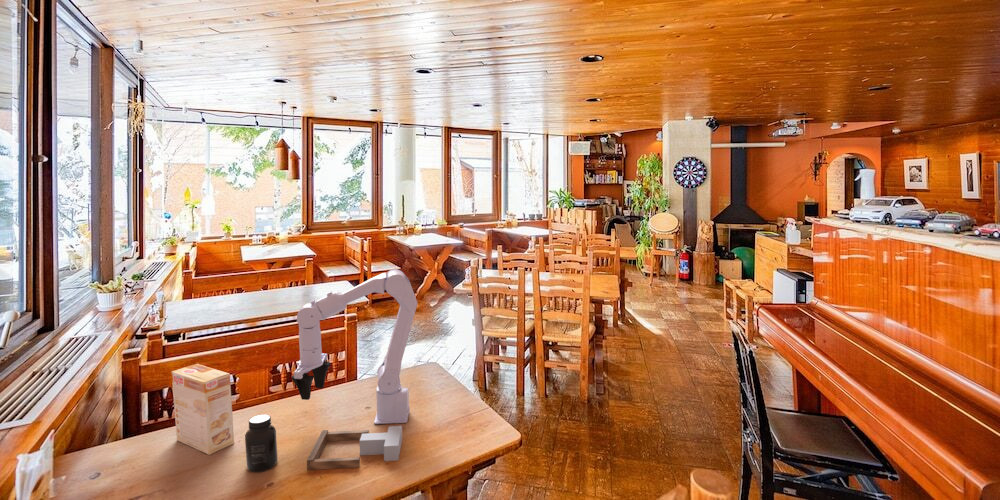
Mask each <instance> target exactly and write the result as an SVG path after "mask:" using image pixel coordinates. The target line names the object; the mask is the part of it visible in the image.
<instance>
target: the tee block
mask: <svg viewBox="0 0 1000 500" xmlns="http://www.w3.org/2000/svg"><path fill="white" fill-rule="evenodd" d="M402 443H403V426H402V425H393V426H392V425H391V426H388V428H387V432H369V433H365V434H362V435H361V438H360V440H359V456H372V455H375V456H376V455H383V461H384V462H391V461H393V462H394V461H396V462H397V461H399V460H400V454H401V449H402Z"/></svg>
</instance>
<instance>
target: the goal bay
mask: <svg viewBox="0 0 1000 500" xmlns="http://www.w3.org/2000/svg"><path fill="white" fill-rule="evenodd" d="M365 433H370V431H369V429H368V430H367V429H364V430H362V429H361V430H359V429H358V430H339V431H337V430H336V431H329V429H324V430H322V431H321V432H320V434H319V436H318V438H317V440H316V442H315V443H314V445H313V447H312V449H311V451H310V453H309V455H308V457H307V459H306V470H307V471H313V470H314V471H315V470H330V469H331V470H332V469H349V468H350V469H352V468H354V469H355V468H359V467H360V465H361V459H360V458H361V457H360V456H353V457H351V456H350V457H334V458H333V457H330V458H329V457H327V458H320V457H321V455H322V453H323V451H324V449H325V446H326V445H327V443H328V442H333V441H358V440H359V441H360V438H361V435H362V434H365Z"/></svg>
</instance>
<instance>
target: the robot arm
mask: <svg viewBox="0 0 1000 500" xmlns="http://www.w3.org/2000/svg"><path fill="white" fill-rule="evenodd" d="M411 284H412V283H411V282H410V279H409V278H408V276H407V275H406V274H405V273H404V272H403V271H402V270H400V269H397V268H396V269H395V268H393V269H390V270H389V271H387V272H382V273H380V274H378V275H376V276H373V277H371V278H369V279H367V280H365V281H364V282H361V283H360V284H358V285H356V286H354V287H351V288H350V289H348V290H346V291H344V292H340V291H337V290H336V291H328V292H327V293H326V295H325V296H323V297H321V298H318V299H317V300H315V299H313V300H311V301H310V303H306V304H303V306H301V307H300V309H299V311H298V312H297V314H296V322H297V324H298V330H299V331H298V343H299V344H298V345H299V360H298V361H297V362H296V365H297V368H296V369H295V370H294V371H293V374H292V375H291V381H292V382H293V383H294V384H295V386H296V388H297V390H298V392H299V396H300V398H301V400H305V401H309V400H310V399H311V393H312V392H311V391H312V383H313V380H314V386H315V388H316V389H324V386H325V383H326V378H327V373H328V370H329V368H330V366H331V361H328V353H323V351H322V349H323V348H322V331H321V330H322V329H321V323H320V321H323V320H326V319H328V318H330V317H333V316H334V315H336V314H339V313H341V312H343V311H345V310H346V309H347V305H348V304H349V303H352V302H354V301H356V300H358V299H361V298H363V297H366V296H368V295H371V294H372V293H373V294H374V293H377V294H381V295H382V294H383V295H385V291H386V292H387V294H388V295H390V296H391V297H393V298H394V299H395V300H396V301H397V303H398V305H399V308H398V312H397V314H396V315H397V316H396V319H395V323H394V326H393V330H392V333H391V338H390V341H389V344H388V348H387V351H386V354H385V356H384V358H383V362H382V364H380V366H379V367H378V368H377V379H378V380H377V387H376V389H375V390H376V391H375V392H376V396H375V397H376V414H375V418H374V421H373V424H374V425H382V424H384V425H385V424H403V423H405V424H406V423H408V419H409V413H410V400H409V399H410V391H409V388H408V387H403V386H402V384H401V378H400V375H401V370H402V361H403V357H404V354H405V351H406V347H407V343H408V339H409V337H410V336H409V335H410V333H411V328H412V325H413V321H414V317H415V315H416V310H417V306H418V300H417V298H416V295H415V291H414V289H413V287H412V285H411ZM310 371H311V373H312V375H309V374H308V373H309V372H310Z"/></svg>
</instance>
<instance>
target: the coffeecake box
mask: <svg viewBox="0 0 1000 500" xmlns="http://www.w3.org/2000/svg"><path fill="white" fill-rule="evenodd" d="M170 373H171V382H172V384H171V385H172V395H173V396H172V397H173V407H174V419H175V433H176V434H175V435H176V440H177V441H178V442H180V443H182V444H184V445H187V446H189V447H190V448H191V447H192V448H194V449H195V450H197V451H200V452H202V453H204V454H206V455H208V456H209V455H212V454H214V453H216V452H218V451H220V450H222V449H225V448H227V447H229V446H231V445H233V444H235V437H234V436H235V435H234V419H233V406H232V403H233V401H232V389H231V388H232V387H231V373H229V372H225V371H222V370H218V369H216V368H212V367H208V366H206V365H203V364H199V363H195V364H192V365H188V366H185V367H182V368H179V369H175V370H172V371H171V372H170Z"/></svg>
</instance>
